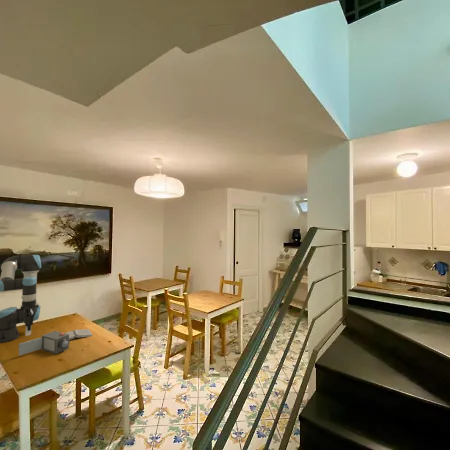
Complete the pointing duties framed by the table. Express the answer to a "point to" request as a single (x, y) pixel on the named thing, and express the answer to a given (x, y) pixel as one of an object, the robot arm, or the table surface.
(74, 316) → the table surface
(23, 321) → the robot arm
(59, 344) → the cam body
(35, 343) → the door
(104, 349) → the table surface
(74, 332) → the gadget
